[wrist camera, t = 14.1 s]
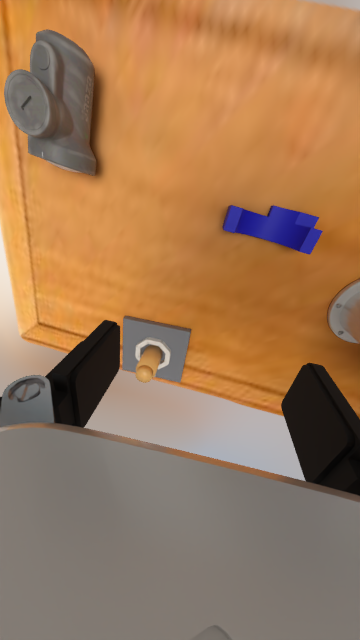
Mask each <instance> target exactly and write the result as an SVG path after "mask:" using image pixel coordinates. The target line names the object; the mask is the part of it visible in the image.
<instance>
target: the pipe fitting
mask: <svg viewBox="0 0 360 640" xmlns="http://www.w3.org/2000/svg"><path fill="white" fill-rule="evenodd" d="M93 89H94V66H93V64H92V62H91V60H90V59H89V57H88V55H87V54H86V53H85V52H84V50H83V49H81V48H80V47H79V46H78V45H77V44H75V43H74V42H73V41H71V40H70V39H68V38H67V37H65V36H63V35H61V34H59V33H57V32H55V31H52V30H43V31H40V32H37V33H36V43H35V44H34V45H33V47H32V50H31V55H30V72H28V71H26V70H15V71H13V72H12V73H11V74H10V75H9V76H8V78H7V80H6V83H5V89H4V95H5V103H6V106H7V110H8V112H9V114H10V116H11V118H12V120H13V122H14V123H15V124H16V126H17V127H18V128H19V129H20V130H22V131H23V132H24V133H26V134H28V152H29V154H31V155H34V156H37V157H40V158H42V159H45V160H46V161H48V162H49V163H51V164H53V165H55V166H57V167H59V168H62V169H64V170H68V171H71V172H77V173H86V174H89V175H93V176H95V175H96V159H95V156H94V154H93V152H92V150H91V148H90V146H89V141H90V128H91V115H92V102H93Z"/></svg>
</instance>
